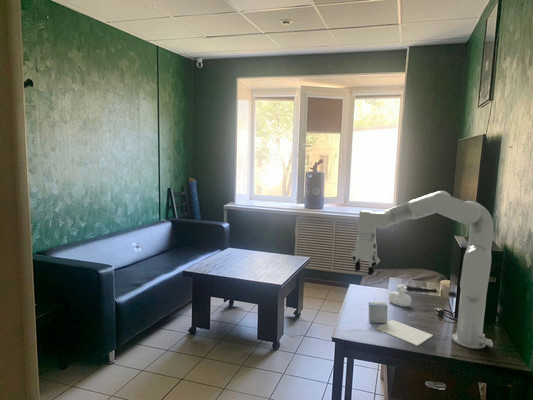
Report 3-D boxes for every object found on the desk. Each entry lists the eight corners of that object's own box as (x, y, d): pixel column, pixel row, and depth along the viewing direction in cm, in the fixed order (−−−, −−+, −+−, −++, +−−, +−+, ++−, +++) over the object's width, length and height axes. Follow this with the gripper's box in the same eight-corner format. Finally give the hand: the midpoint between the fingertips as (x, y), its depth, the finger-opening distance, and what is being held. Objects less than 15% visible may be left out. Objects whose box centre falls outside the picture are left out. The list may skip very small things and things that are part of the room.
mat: (432, 336, 164) (433, 335, 164) (417, 346, 155) (417, 345, 155) (392, 320, 179) (392, 319, 179) (375, 328, 170) (375, 328, 170)
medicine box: (385, 319, 179) (385, 302, 178) (387, 323, 174) (387, 305, 174) (368, 319, 180) (368, 301, 179) (369, 323, 175) (370, 305, 174)
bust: (410, 311, 196) (416, 291, 200) (407, 305, 191) (413, 285, 195) (388, 304, 204) (394, 285, 208) (384, 299, 199) (391, 280, 203)
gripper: (386, 238, 175) (384, 275, 177) (355, 232, 188) (353, 266, 190) (377, 240, 170) (375, 279, 172) (346, 233, 183) (344, 269, 185)
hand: (364, 272), depth 181 cm, fingers open, 6 cm apart
